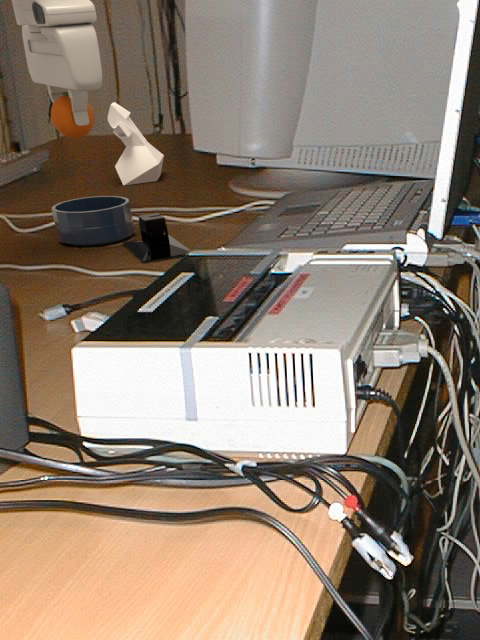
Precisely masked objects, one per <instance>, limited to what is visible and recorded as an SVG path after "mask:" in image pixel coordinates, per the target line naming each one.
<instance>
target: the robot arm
mask: <svg viewBox="0 0 480 640" xmlns="http://www.w3.org/2000/svg"><path fill="white" fill-rule="evenodd" d="M11 3H12V9H13V12H14V16H15V22H16V24H17V26H21V36H22V42H23V48H24V53H25V59H26V65H27V69H28V73H29V76H30V78H31V81H32V82H33V83H35V84H40V85H44V86H46V88H47V92H48V96H49V98H50V100H51V103H52V104H53V103H54V101H55V100H56V99H57V98H58V97H60V96H62V95H63V92H68V94H69V98H71V104H72V111H71V115H72V118H73V123H74V124H75V125H78V126H83V125H88V124H89V117H88V112H87V108H88V104H89V103H88V102H89V94H88V91H93V90H100V89H101V88H102V84H103V67H102V61H101V54H100V47H99V42H98V36H97V32H96V29H95V27H94V25H93V23H97V20H98V17H97V11H96V7H95V4H94V3H93V2H92V1H91V0H11Z"/></svg>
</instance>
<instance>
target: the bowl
mask: <svg viewBox="0 0 480 640" xmlns="http://www.w3.org/2000/svg"><path fill="white" fill-rule="evenodd" d="M51 214H52V219H53V221H54V227H55V232H56V235H57V239H58V240H57V241H59V242H61V243H63V244H68V245H70V246H75V247H94V246H95V247H96V246H104V245H110V244H114V243H118V242H121V241H123V240H125V239H127V238H128V237H130V236H132V235H134V234H135V224H134V220H133V213H132V208H131V203H130V199H129V198H127V197H125V196H117V195H98V196H97V195H96V196H85V197H78V198H73V199H69V200H64V201H61V202H58V203H56V204H54V205H52V207H51Z"/></svg>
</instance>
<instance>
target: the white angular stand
mask: <svg viewBox="0 0 480 640" xmlns="http://www.w3.org/2000/svg"><path fill="white" fill-rule="evenodd" d="M130 115H131V112H130V111H129V110H127V109H126V108H124V107H123V106H121V105H120V104H118V103H117V102H116V101H114V102H112V103H111V104H110V105H109V109H108V114H107V123H108V124H109V126H110V127H111V129H112V130H113V131H112V133H113V134H114V135H115V136H116V137H117V138H118V139H120V140H121V142H122V143H123V144H124V146H125V149H124V150H123V152H122V153H121V155H120V156H119V159H118V160H117V162H116V163H115V165H114V168H115V170H116V172H117V175H118V177H119V179H120V182H121V183H122V186H130V185H136V184H137V185H139V184H146V183H153V182H158V180H159V178H160V177H161V175H162V169H163V164H164V158H165V155H164V154H163V153H162V152H160V151H159V150H158V149H157V148H156V147H155V146H153V145H152V144H151V143H149V141H148V140H147V139H146V137H145V136H144V135H143V133H142V132H141V131H140V129H139V128H138V127H137V125H136V124H135V122H134V121H133V119H131V117H130Z"/></svg>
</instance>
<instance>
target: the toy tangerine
mask: <svg viewBox="0 0 480 640" xmlns="http://www.w3.org/2000/svg"><path fill="white" fill-rule="evenodd" d="M71 111H72V104H71V98H69V94H68V91H66V92H63V95H62V96H60V97H58V98H57V99H56V100H55V101H54V103H53V102H52V105H51V108H50V119H51V122H52V125H53V127H54V128H55V129H56V130H57V132H58V133H59V134H61V135H62V136H64V137H66V138H69V139H82V138H83V137H86V136H87V135H88V134H89V133H90V132H91V131H92V130H93V129H92V128H93V126H94V123H95V117H94V115H95V114H94V112H93V108H92V107H91V105H90V104H89V103H88V108H87V112H88V117H89V124H88V125H83V126H78V125H75V124H74V123H73V118H72V115H71Z"/></svg>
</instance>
